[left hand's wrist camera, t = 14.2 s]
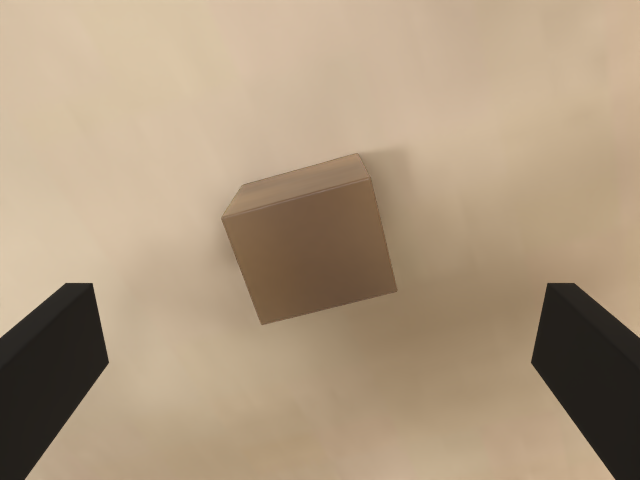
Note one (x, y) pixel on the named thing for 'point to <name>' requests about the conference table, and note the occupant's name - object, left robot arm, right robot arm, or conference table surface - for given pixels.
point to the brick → (310, 240)
